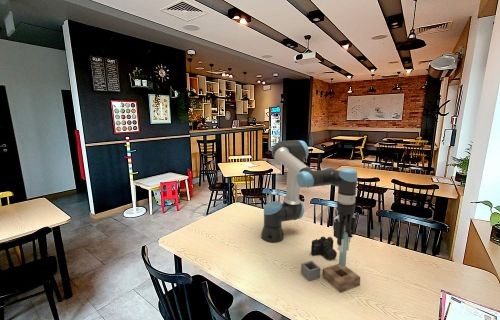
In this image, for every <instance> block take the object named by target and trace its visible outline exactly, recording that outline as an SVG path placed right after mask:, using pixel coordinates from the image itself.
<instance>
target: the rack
mask: <svg viewBox="0 0 500 320" xmlns="http://www.w3.org/2000/svg"><path fill="white" fill-rule="evenodd" d="M321 274H322V278H323V279H325V281H327V283H329V284H330V285H331V286H332V287H333V288H334V289H335V290H337V291H338V292H339V294H341V293H343V292H346V291H349V290H351V289H353V288H357V287H359V286H360V285H361V276H360V275H358V274H357V273H356V272H354V271H353V270H352V269H350V268H349V267H348V266H346V265H345V266H341V265H340V264H339V263H337V264H333V265H330V266H327V267H324V268H322V273H321Z"/></svg>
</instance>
